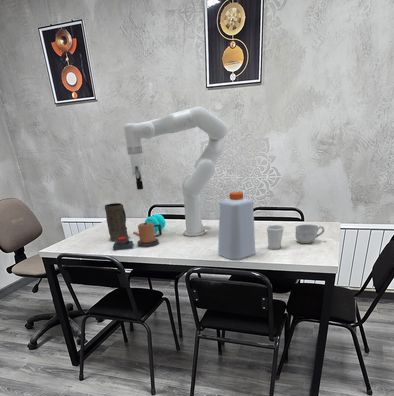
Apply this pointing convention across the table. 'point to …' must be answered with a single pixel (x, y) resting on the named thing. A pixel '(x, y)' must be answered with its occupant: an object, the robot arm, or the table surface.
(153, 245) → the base
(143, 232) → the kettle
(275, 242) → the dixie cup
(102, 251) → the table surface
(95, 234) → the table surface
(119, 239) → the button
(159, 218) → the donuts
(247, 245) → the plastic bottle
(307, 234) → the teacup
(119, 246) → the switch box
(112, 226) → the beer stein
